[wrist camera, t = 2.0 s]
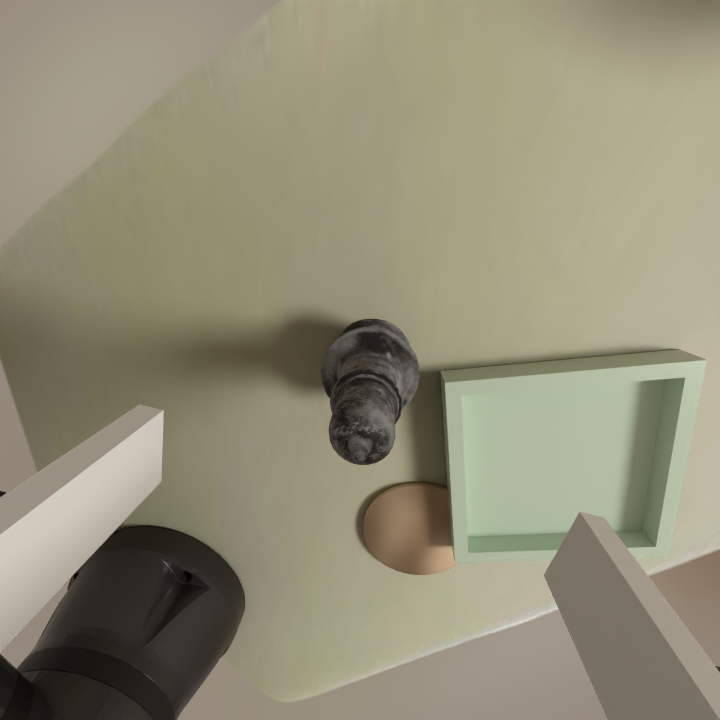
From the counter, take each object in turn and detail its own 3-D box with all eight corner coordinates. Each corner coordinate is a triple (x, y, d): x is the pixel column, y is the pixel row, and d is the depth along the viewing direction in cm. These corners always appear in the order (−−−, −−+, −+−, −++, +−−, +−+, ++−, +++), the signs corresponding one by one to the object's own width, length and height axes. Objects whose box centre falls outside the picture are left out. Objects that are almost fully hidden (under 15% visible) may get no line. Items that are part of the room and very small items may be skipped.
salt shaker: (354, 407, 26) (326, 540, 14) (315, 337, 24) (250, 424, 13) (429, 375, 25) (463, 494, 13) (393, 299, 23) (396, 359, 12)
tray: (450, 541, 29) (455, 563, 27) (440, 370, 24) (444, 382, 22) (648, 533, 27) (668, 557, 25) (679, 349, 23) (706, 360, 21)
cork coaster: (370, 571, 31) (370, 576, 30) (356, 485, 28) (356, 489, 28) (476, 568, 30) (477, 573, 29) (473, 478, 27) (475, 482, 26)
